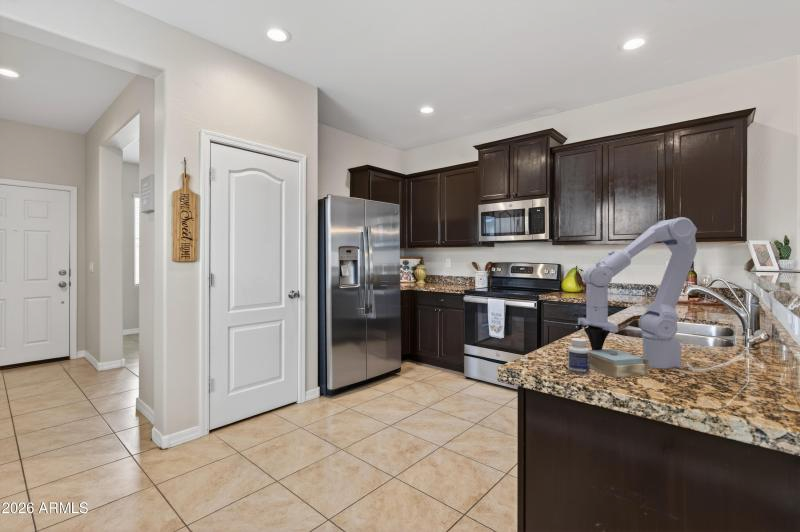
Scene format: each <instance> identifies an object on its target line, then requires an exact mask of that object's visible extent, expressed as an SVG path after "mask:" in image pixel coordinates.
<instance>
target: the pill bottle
mask: <svg viewBox="0 0 800 532" xmlns="http://www.w3.org/2000/svg"><path fill="white" fill-rule="evenodd" d="M587 345H588V340H587V339H585V338H582V337H579V338H578V337H573V338H571V339H570V346H568V353H567V354H568V356H567V357H568V360H567V361H568V367H567V368H568V372H570V373H571V374H576V375H588V374H590V371H591V369H590V351H591V350H590V349H589V348H588V347H587Z"/></svg>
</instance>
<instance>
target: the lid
mask: <svg viewBox="0 0 800 532" xmlns="http://www.w3.org/2000/svg"><path fill="white" fill-rule="evenodd" d="M589 351H590V354H592V355H595V356H597V357H600V358H603V359H606V360H609V361H612V362H615V366H622V365H634V364H643V357H641V356H637V355H633V354H631V353H627V352H624V351H621V350H617V349H614V348H610V349H602V350H592V349H591V350H589Z"/></svg>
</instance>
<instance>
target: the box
mask: <svg viewBox="0 0 800 532" xmlns="http://www.w3.org/2000/svg"><path fill="white" fill-rule="evenodd" d="M642 358H643V357H642ZM590 370H593V371H595V372H598V373H600V374H602V375H605V376H608V377H611V378H613V379H615V378H625V377H637V376H646V375H647V376H649V366H648V360H647V359H644V358H643V364H634V365H622V366H615V362H612V361H609V360H606V359H603V358H600V357H597V356H595V355H592V354H590Z"/></svg>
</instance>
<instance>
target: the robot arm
mask: <svg viewBox="0 0 800 532" xmlns="http://www.w3.org/2000/svg"><path fill="white" fill-rule="evenodd" d="M697 231H698V228H697V227H696V225H695V224H694V223H693V222H692V220H691V219H689V218H687V217H683V216H680V217H676V218H671V219H662V220H659V221H658V222H656V223H655V224H653V225H651V226H650V227H649V228H648V229H646V231H644V232H643V233H642V234H640V235H639V236H638V237H637V238H636V239H634V240H633V241H632V242H631V243H629V244H628V245H627V246H626V247H625V248H623V249H616V250H610V251H609V252H607V254H608V255H607V256H606V257H604V258H603V259H602V260H600V261H596V262H595V266H590V267H588V268H586V270H585V272H584V275H582V278H583V281H584V283H585V284H586V294H585V297H586V299H585V300H586V302H585V304H586V306H585V307H586V308H585V309H586V310H585V313H586V317H578V318H577V325H584V326H587V327H584V328H583V330H584V333H585V334H586V336H587V338H588V341H589V343H590V348H591V351H592V350H603V348H604V345H605V344H604V343H605V341H606V339H607V337H608V335H610V333H618V332H619V324H615V323H612V322H610V321H608V316H609V315H608V313H609V312H608V310H609V306H608V305H609V301H608V297H609V296H608V295H609V294H608V293H609V291H608V285H610V284H611V282H612V278H613V277H615V276H616V275H618V274H619V273H621V272H622V271H623V270H624V269H626V268H628V267H629V266H630V265H631V263H632V259H633V258H634V257H635V256H637V255H639V253H641V252H643V251H644V250H646V249H647V248H648V247H650V246H651V245H653V244H655V243H658V242H661V243H662V244H664V245H665V246H666V247H667V248H668V249H669V251H670V253H671V255H670V258H669V261H668V263H667V266H666V269H665V271H664V274H663V277H662V280H661V282H660V284H659V287H658V290H657V292H656V295H655V297H654V300H653V302H652V303H651V304H649V306H647V308H646V309H645V312H644V313H643V314H642V315H641V316H640V317H639V319H638V322H637V323H638V328H639V329H640V330H641V331H642V358H644V359H647V360H648V368H649V367H650V368H655V369H656V368H657V369H671V368H680V369H685V367H683V366H682V345H681V342H680V341H679V340H678V339H677V338H675V335H676V334H677V332H678V320H679V315H678V313H677V311H676V307H677V305H678V301H679V299H680V298H681V294H682V291H683V289H684V286H685V283H686V281H687V278H688V276H689V273H690V270H691V268H692V266H693V265H692V264H693V263H694V260H695V257H696V255H697V252H698V251H697V250H698V249H697V241H696V234H697Z"/></svg>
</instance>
